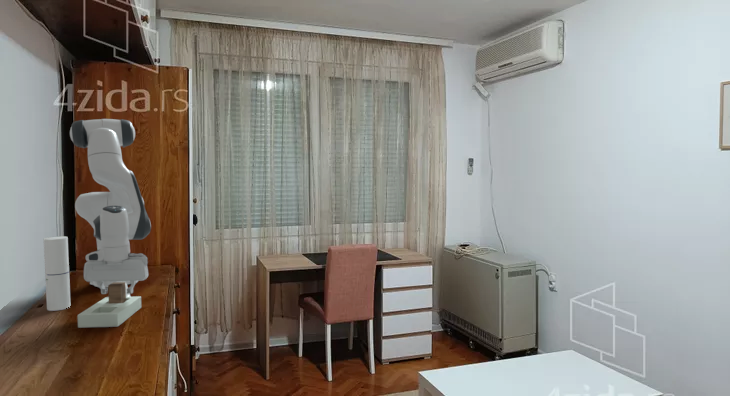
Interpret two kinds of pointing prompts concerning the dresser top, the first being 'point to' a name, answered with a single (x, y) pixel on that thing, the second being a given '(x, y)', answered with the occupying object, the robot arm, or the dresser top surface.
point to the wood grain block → (117, 292)
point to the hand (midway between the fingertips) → (117, 293)
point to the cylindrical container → (57, 273)
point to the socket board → (109, 313)
